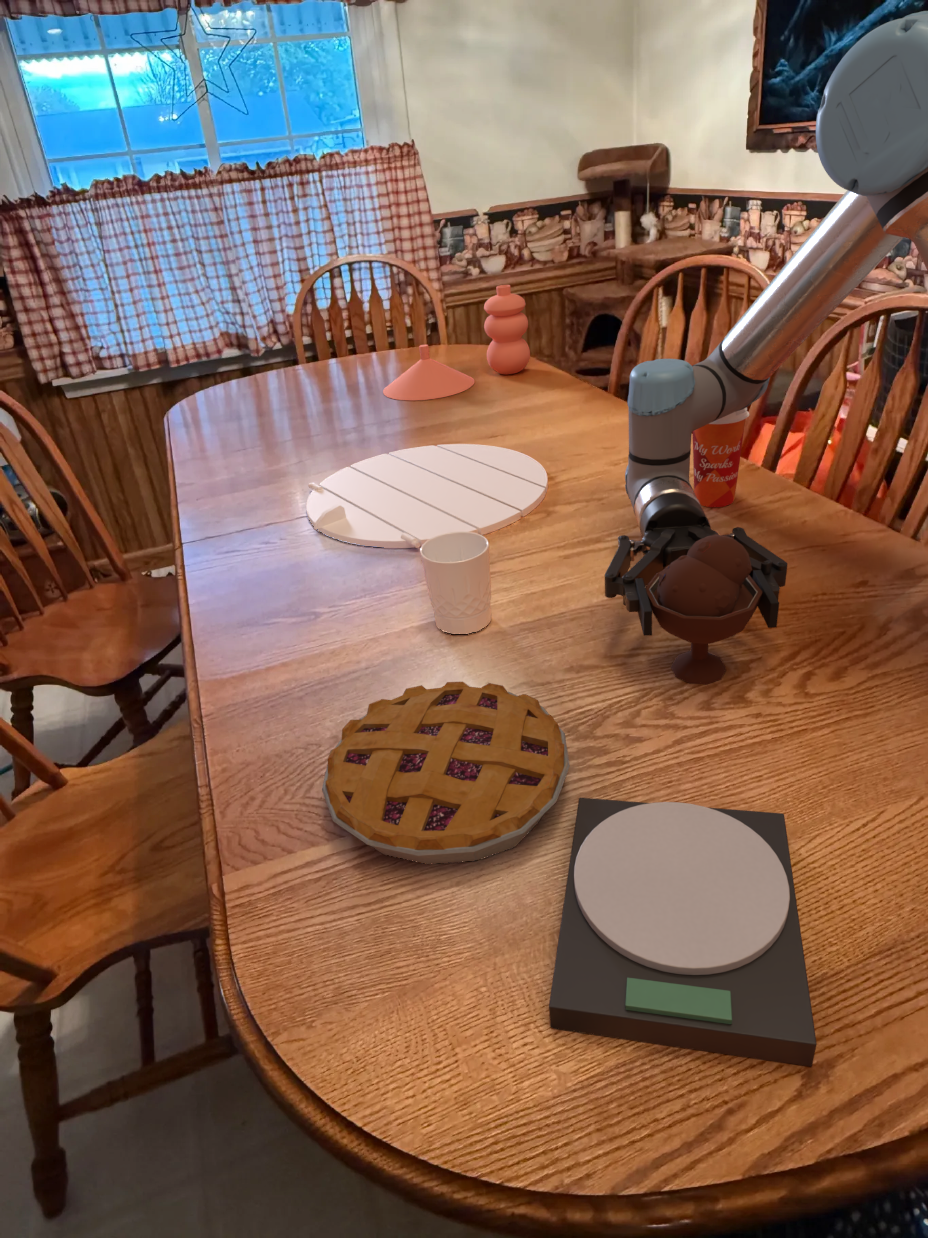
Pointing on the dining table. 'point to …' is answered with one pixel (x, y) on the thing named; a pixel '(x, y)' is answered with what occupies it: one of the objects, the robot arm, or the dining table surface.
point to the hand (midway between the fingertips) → (710, 619)
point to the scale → (683, 932)
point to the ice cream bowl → (704, 603)
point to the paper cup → (718, 459)
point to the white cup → (458, 580)
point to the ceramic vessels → (502, 354)
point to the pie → (446, 772)
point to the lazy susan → (426, 494)
